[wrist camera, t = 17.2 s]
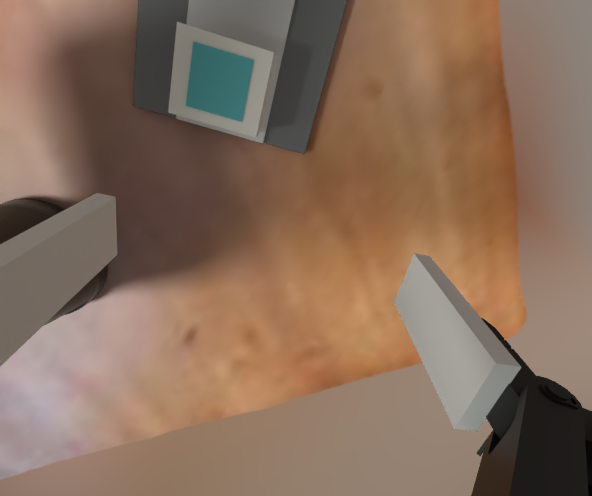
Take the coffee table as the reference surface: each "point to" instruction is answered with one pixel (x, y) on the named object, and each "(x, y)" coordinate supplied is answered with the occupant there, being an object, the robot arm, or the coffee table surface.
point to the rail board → (237, 64)
